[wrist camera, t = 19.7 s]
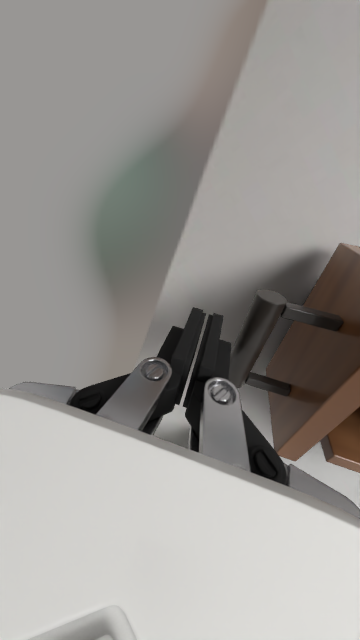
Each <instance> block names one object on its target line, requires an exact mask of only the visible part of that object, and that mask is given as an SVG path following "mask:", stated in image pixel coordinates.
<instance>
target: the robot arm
mask: <svg viewBox="0 0 360 640" xmlns="http://www.w3.org/2000/svg"><path fill="white" fill-rule="evenodd" d="M202 312H203V310H201V309H198V308H194V307H193V309H192V311H191V314H190V316H189V318H188V321H187V323H186V325H185V328H184V329H182V328H179V327H175V326H173V327H172V328H171V330H170V332H169V334H168V336H167V338H166V340H165V342H164V344H163V346H162V347H161V349H160V351H159V353H158V355H157V357H151V358H147V359H145V360H143V361H142V362H141V363H140V364H139V365H138V366H137V367H136V368H135V369H134V371H133V372H132V373H130V374H127V375H124V376H120V377H117V378H114V379H111V380H107V381H104V382H101V383H98V384H95V385H91V386H88V387H86V388H83V389H81V390H76V388H75V387H70V386H62V385H53V384H43V383H35V382H23V383H20V384H16V385H14V386H13V387H11V388H9V389H0V640H360V509H359V508H358V507H357V506H356V505H355V504H354V503H353V502H352V501H351V500H349V499H348V498H347V497H346V496H344V495H342V494H340V493H339V492H337V491H335V490H334V489H332V488H330V487H329V486H327V485H325V484H324V483H322V482H320V481H319V480H317V479H315V478H314V477H312V476H310V475H309V474H307V473H305V472H304V471H302V470H300V469H299V468H297V467H295V466H294V465H292V464H290V465H287V464H285V463H283V461H282V460H281V458H280V457H279V455H278V454H277V452H276V451H275V450H274V449H273V447H272V446H271V445H270V444H269V443H268V441H267V440H266V439H265V438H264V436H263V435H262V434H261V433H260V431H259V430H258V429H257V428H256V426H255V425H254V424H253V423H252V421H251V420H250V419H249V418H248V416H247V415H246V414H245V413H244V411H243V410H242V407H241V400H240V394H239V391H238V389H237V388H236V386H235V385H234V384H233V383H232V382H230V381H229V380H228V379H229V367H230V356H231V343H230V342H226V341H223V340H220V334H221V328H222V323H223V317H224V316H223V315H219V314H216V313H214V314H213V315H209V317H208V320H207V324H206V327H205V331H204V334H203V337H202V341H201V344H200V348H199V351H198V355H197V358H196V362H195V365H194V369H193V372H192V376H191V379H190V383H189V386H188V390H187V393H186V397H185V400H184V404H183V407H186V408H187V409H186V413H185V417H186V418H187V420H188V422H189V424H190V428H189V439H188V449H187V448H184V447H182V446H179V445H176V444H173V443H171V442H168V441H165V440H163V439H160V438H157V437H155V436H153V435H154V433H155V431H156V429H157V428H158V426H159V424H160V422H161V420H162V418H163V415H165V414H167V413H169V412H172V410H173V409H174V406H175V404H177V405H179V404H180V401H181V398H182V394H183V391H184V388H185V385H186V381H187V378H188V375H189V371H190V368H191V365H192V361H193V358H194V355H195V351H196V348H197V344H198V341H199V337H200V334H201V330H202V326H203V323H204V319H205V316H206V313H202Z"/></svg>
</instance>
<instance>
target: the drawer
mask: <svg viewBox="0 0 360 640" xmlns="http://www.w3.org/2000/svg"><path fill="white" fill-rule="evenodd" d="M280 315H281V317H282V318H286V319H290V320H294V322H293V323H292V325H291V327H290V329H289V330H288V332H287V334H286V335H285V337H284V339H283V340H282V342H281V344H280V346H279V347H278V349H277V351H276V352H275V354H274V356H273V357H272V359H271V361H270V363H269V364H268V366H267V368H266V376H263V375H260V374H256V373H253V372H250V371H251V370H252V368H253V366H254V364H255V362H256V360H257V358H258V356H259V354H260V353H261V351H262V349H263V347H264V345H265V343H266V341H267V339H268V337H269V336H270V334H271V332H272V330H273V328H274V326H275V324H276V322H277V321H278V319H279V317H280ZM228 380H229V381H230V382H232V383H233V384H234V385H235V386H236V388H240V387H242V386H243V385H244V383H246V384H248V385H251V386H254V387H257V388H260V389H263V390H267V391H268V395H269V405H270V414H271V424H272V433H273V443H274V450H275V451H276V452H277V454H278V455H279V456H281V457H284V458H287V459H290V460H292V461H297V460H298V459H299V458H300V457H301V456H302V455H304V454H305V453H306V452H307V451H308V450H309V449H311V448H312V447H313V446H314V445H315V444H317V443H318V442H319V441H320V442H321V445H322V449H323V452H324V456H325V459H326V461H327V462H330V463H333V464H335V465H338V466H341V467H344V468H347V469H350V470H353V471H356V472H359V473H360V247H358V246H353V245H349V244H344V243H340V244H339V245H338V247H337V249H336V250H335V252H334V254H333V255H332V257H331V259H330V261H329V262H328V264H327V266H326V267H325V269H324V271H323V272H322V274H321V276H320V278H319V279H318V281H317V283H316V284H315V286H314V288H313V289H312V291H311V293H310V295H309V296H308V298H307V300H306V301H305V303H304V305H303V306H300V305H296V304H293V303H289V302H287V300H286V298H285V297H284V296H282V295H281V294H279V293H277V292H274V291H271V290H266V289H260V290H258V291H257V292H256V294H255V297H254V299H253V302H252V304H251V306H250V309H249V311H248V314H247V316H246V318H245V321H244V323H243V326H242V328H241V331H240V333H239V335H238V338H237V340H236V343H235V345H234V347H233V350H232V352H231V356H230V367H229V379H228Z"/></svg>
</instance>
